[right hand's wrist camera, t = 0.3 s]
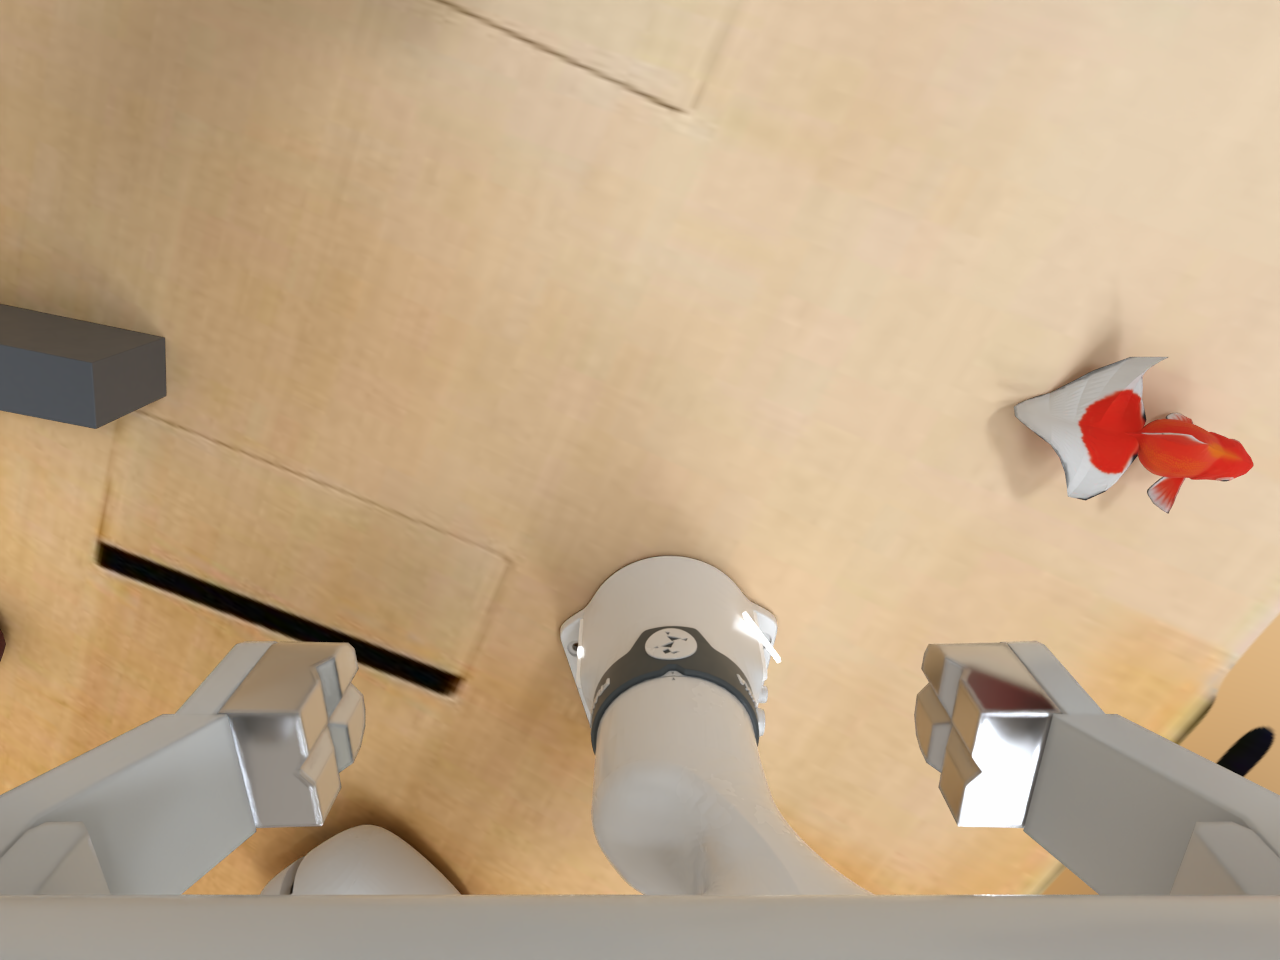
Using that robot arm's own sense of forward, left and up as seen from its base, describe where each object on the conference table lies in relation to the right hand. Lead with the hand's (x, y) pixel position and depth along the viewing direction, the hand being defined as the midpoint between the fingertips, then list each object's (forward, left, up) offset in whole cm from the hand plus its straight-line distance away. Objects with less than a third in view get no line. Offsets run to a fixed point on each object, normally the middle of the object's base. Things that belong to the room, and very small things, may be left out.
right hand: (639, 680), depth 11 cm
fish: (-13, -35, -47) cm, 60 cm away
